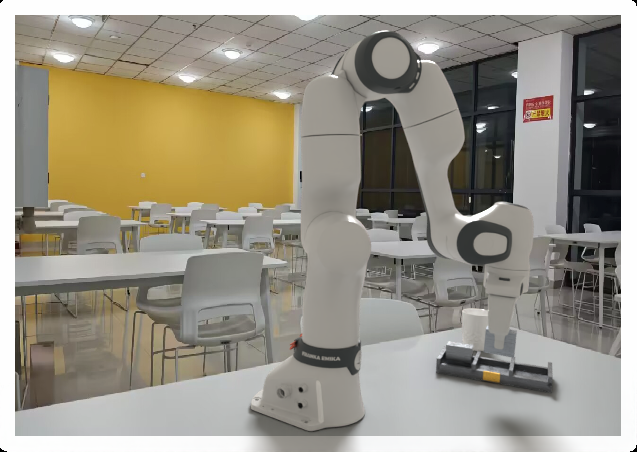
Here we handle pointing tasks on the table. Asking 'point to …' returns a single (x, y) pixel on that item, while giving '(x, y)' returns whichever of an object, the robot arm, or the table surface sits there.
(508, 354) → the grey upright block
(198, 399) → the table surface
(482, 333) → the white cup
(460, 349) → the rack
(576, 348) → the table surface
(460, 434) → the table surface
